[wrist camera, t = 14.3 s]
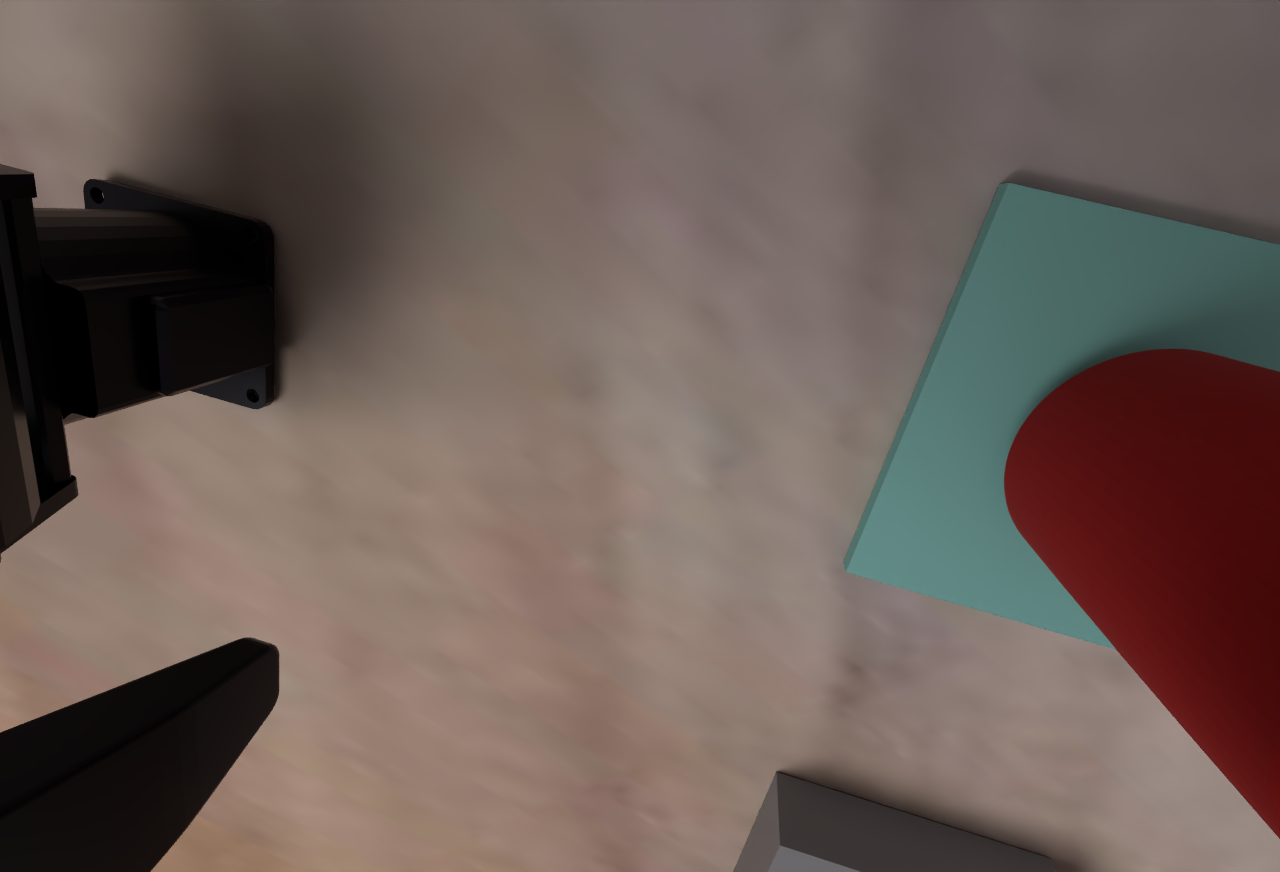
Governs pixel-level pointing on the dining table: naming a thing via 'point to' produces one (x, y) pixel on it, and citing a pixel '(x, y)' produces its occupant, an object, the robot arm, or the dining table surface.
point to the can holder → (864, 838)
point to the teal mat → (1044, 381)
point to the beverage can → (1171, 537)
